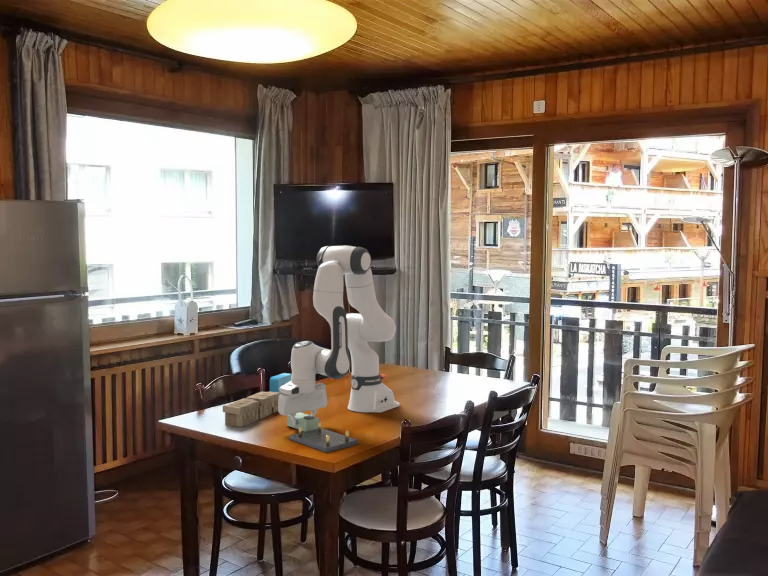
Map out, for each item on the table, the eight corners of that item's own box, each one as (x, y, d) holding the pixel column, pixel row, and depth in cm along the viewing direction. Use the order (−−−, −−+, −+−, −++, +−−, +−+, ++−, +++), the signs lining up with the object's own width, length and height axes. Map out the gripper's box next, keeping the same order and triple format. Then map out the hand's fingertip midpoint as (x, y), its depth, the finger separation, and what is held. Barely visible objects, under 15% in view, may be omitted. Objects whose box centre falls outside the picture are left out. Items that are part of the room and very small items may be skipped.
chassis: (321, 432, 258) (321, 419, 257) (357, 444, 243) (358, 431, 243) (289, 439, 248) (289, 426, 248) (325, 452, 234) (326, 439, 233)
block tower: (263, 411, 292) (221, 426, 265) (263, 390, 291) (221, 404, 264) (280, 413, 289) (239, 428, 262) (280, 392, 288) (239, 406, 261)
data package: (285, 399, 307) (285, 372, 306) (294, 401, 305) (294, 373, 304) (269, 405, 296) (269, 377, 295) (278, 407, 294) (278, 378, 293)
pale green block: (299, 422, 269) (299, 410, 268) (319, 429, 260) (319, 416, 260) (286, 425, 265) (286, 413, 264) (306, 432, 256) (306, 419, 256)
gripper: (320, 380, 270) (320, 416, 271) (275, 388, 256) (275, 426, 257) (330, 383, 266) (330, 419, 267) (285, 391, 252) (285, 429, 253)
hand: (303, 422), depth 262 cm, fingers closed on pale green block, 6 cm apart
